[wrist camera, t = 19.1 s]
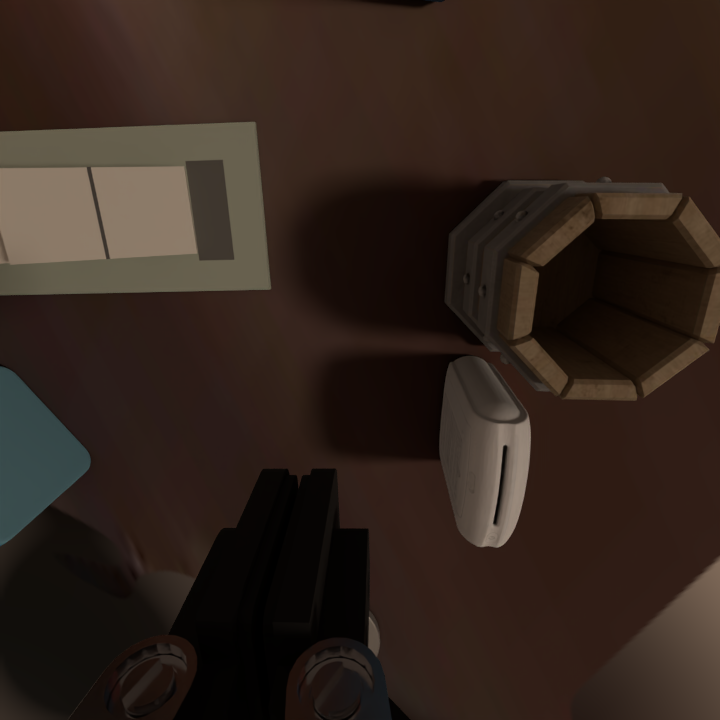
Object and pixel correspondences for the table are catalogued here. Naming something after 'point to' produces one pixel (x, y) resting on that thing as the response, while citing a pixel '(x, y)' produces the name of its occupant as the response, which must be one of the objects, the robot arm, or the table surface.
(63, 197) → the domino
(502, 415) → the photo printer
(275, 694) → the robot arm
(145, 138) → the domino mat
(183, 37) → the table surface
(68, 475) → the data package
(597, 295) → the tankard
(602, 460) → the table surface
